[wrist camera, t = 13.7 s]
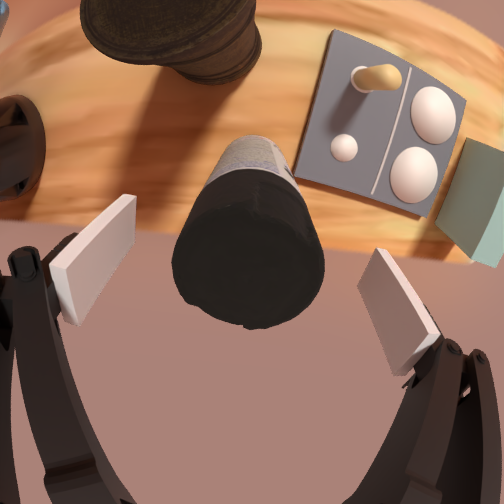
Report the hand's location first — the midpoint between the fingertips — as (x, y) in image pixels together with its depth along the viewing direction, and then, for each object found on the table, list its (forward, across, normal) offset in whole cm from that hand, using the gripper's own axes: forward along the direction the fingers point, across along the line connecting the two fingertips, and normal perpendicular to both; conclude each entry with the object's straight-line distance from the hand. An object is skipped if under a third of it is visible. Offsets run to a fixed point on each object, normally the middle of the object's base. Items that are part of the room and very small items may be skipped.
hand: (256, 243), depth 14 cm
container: (+17, -7, +12) cm, 22 cm away
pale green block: (+17, +28, +6) cm, 34 cm away
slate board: (+17, +13, +9) cm, 23 cm away
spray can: (+17, 0, 0) cm, 17 cm away
